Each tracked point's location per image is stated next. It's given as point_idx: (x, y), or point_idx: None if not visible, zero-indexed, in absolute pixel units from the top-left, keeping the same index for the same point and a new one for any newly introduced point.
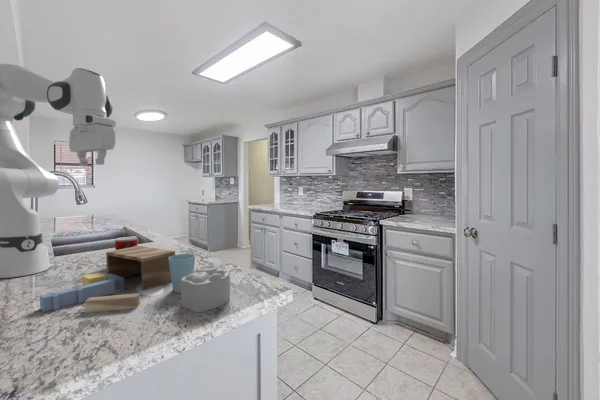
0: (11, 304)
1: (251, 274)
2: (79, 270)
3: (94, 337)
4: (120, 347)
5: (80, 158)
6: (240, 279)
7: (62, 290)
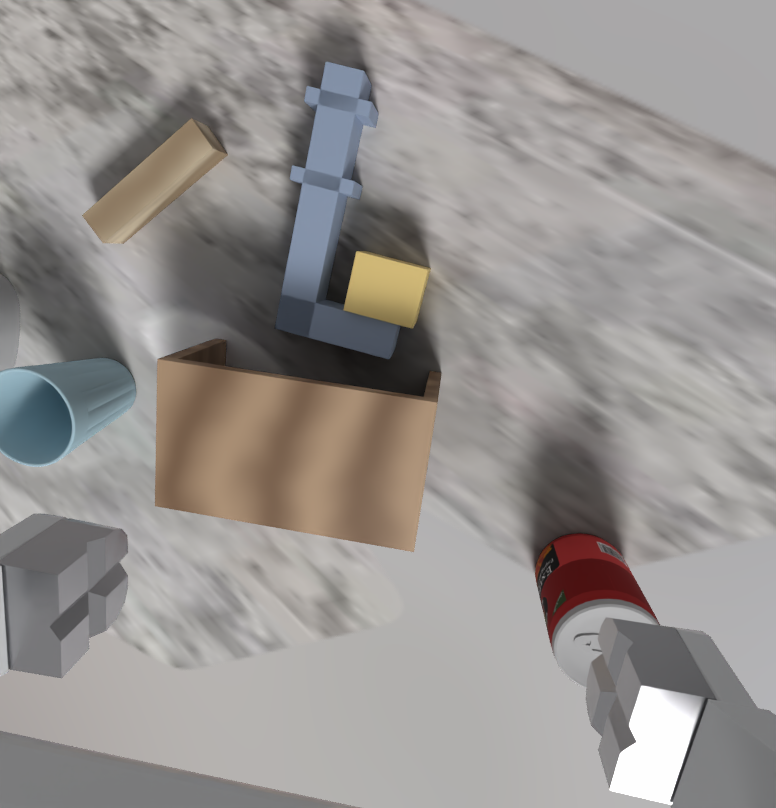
0: (523, 69)
1: None
2: (711, 441)
3: (23, 27)
4: None
5: (752, 750)
6: None
7: (347, 141)
